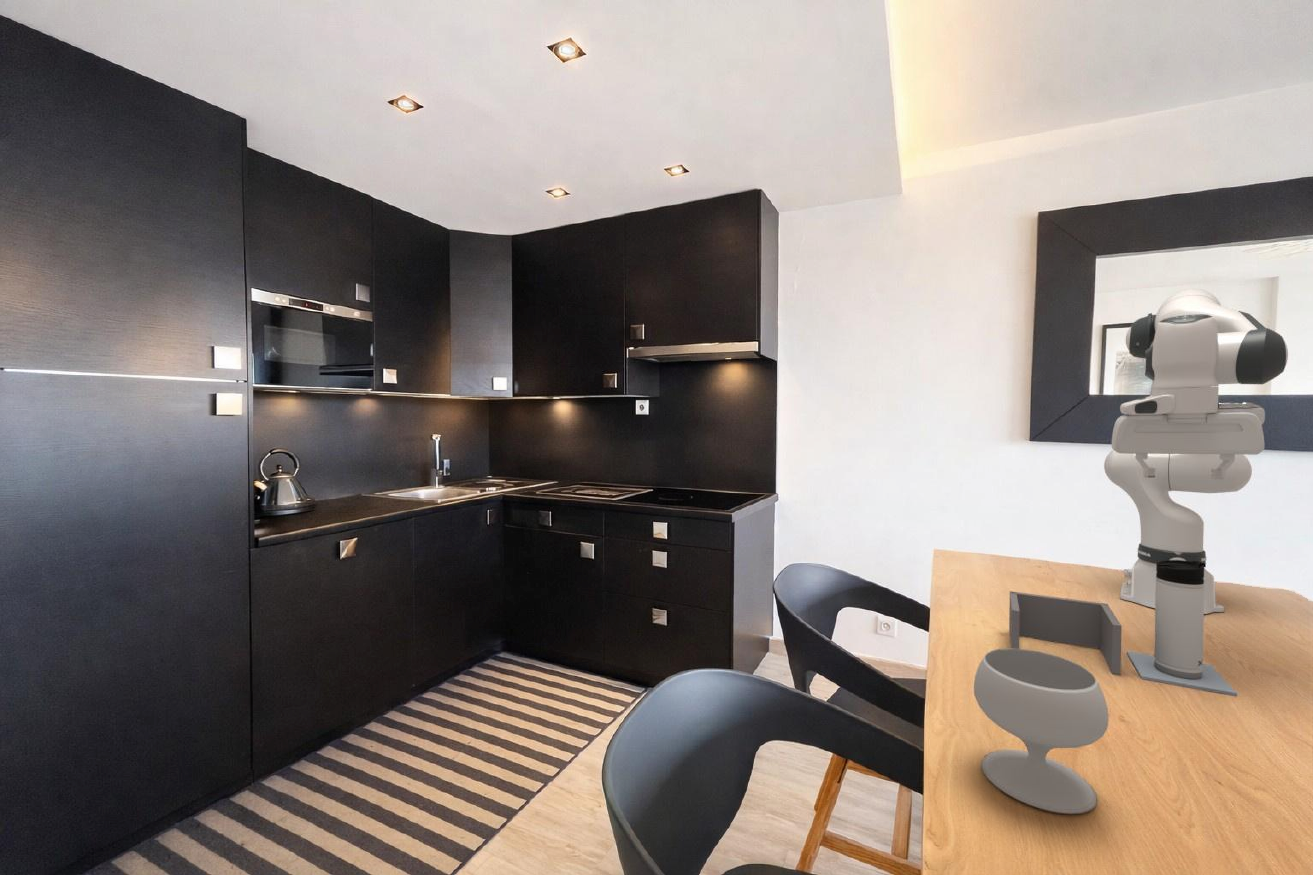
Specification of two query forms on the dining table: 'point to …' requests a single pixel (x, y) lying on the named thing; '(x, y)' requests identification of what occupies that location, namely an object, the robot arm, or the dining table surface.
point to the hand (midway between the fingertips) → (1182, 478)
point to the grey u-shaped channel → (1066, 624)
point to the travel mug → (1179, 618)
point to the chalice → (1040, 725)
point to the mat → (1207, 682)
